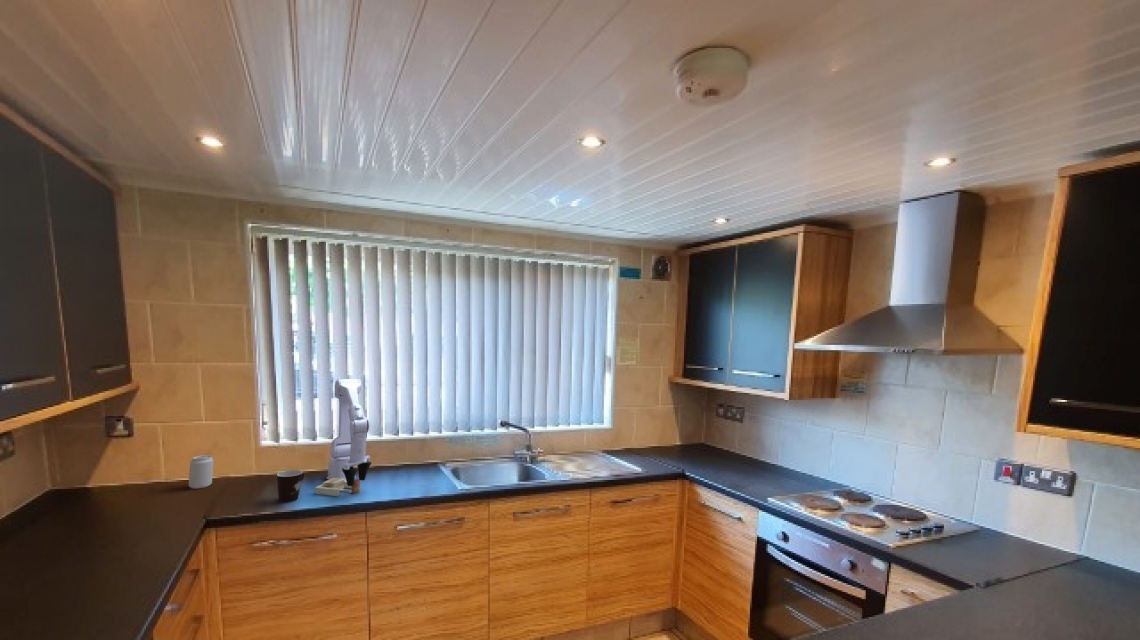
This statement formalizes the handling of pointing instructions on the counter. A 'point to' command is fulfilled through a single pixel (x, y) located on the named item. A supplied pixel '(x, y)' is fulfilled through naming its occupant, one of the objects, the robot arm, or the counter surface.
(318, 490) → the lane
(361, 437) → the robot arm
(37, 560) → the counter surface
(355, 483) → the wooden toy mallet
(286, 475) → the coffee mug
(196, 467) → the can
